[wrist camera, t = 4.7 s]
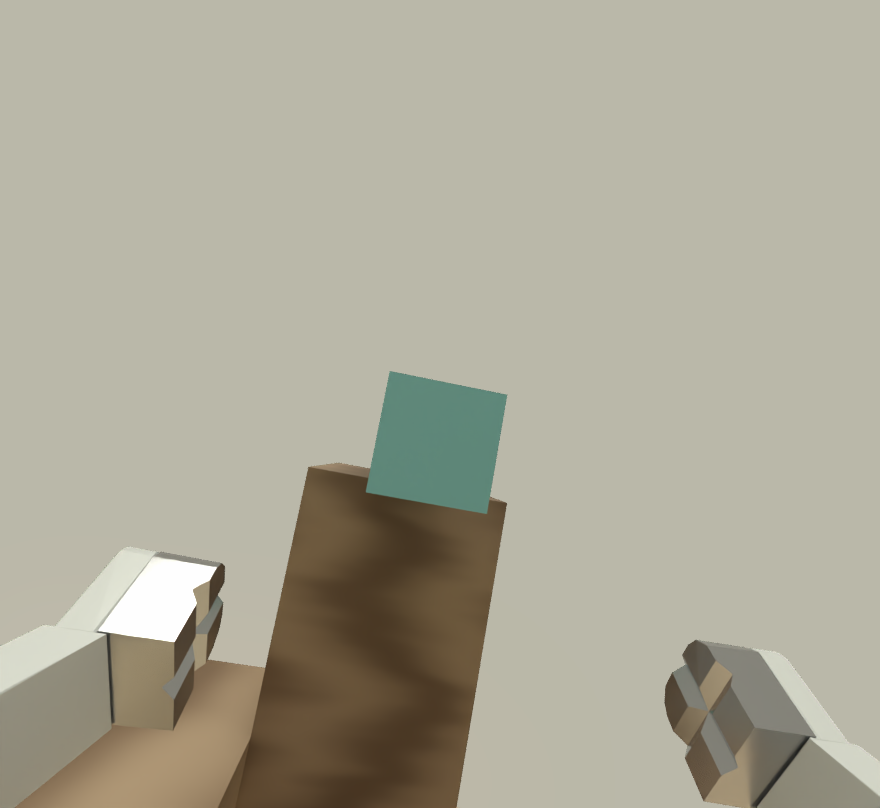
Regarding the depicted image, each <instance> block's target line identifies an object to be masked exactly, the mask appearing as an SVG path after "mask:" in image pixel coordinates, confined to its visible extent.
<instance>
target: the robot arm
mask: <svg viewBox="0 0 880 808" xmlns="http://www.w3.org/2000/svg"><path fill="white" fill-rule="evenodd" d="M224 578H225V566H224V565H223V564H222V563H217V562H212V561H207V560H201V559H196V558H191V557H186V556H180V555H175V554H170V553H164V552H154V551H149V550H144V549H139V548H134V547H126V548H125V549H123V550H121V551H119V552H118V553H117V554H116V555H115V557H114V558H113V559H112V560H111V561H110V562H109V564H108V565H107V566H106V567H105V568H104V569H103V571H102V572H101V573H100V574H99V575H98V576H97V577H96V579H95V580H94V581H93V582H92V584H91V585H90V586H89V587H88V588H87V589H86V590H85V592H84V593H83V594H82V595H81V596H80V597H79V598H78V600H77V601H76V602H75V603H74V604H73V605H72V607H71V608H70V609H69V610H68V611H67V612H66V614H65V615H64V616H63V617H62V618H61V619H60V620H59V622H58V623H57V624H56V625H55V626H50V625H43V626H40V627H38V628H36V629H34V630H32V631H30V632H28V633H26V634H24V635H22V636H20V637H18V638H16V639H14V640H11V641H9V642H8V643H5V644H3V645H1V646H0V808H14V807H16V806H17V805H18V804H19V803H21V802H22V801H23V800H24V799H26V798H27V797H28V796H29V795H31V794H32V793H33V792H34V791H35V790H37V789H38V788H39V787H40V786H42V785H43V784H44V783H45V782H47V781H48V780H49V779H50V778H51V777H53V776H54V775H55V774H56V773H58V772H59V771H60V770H61V769H63V768H64V767H65V766H66V765H67V764H69V763H70V762H71V761H72V760H74V759H75V758H76V757H77V756H79V755H80V754H81V753H82V752H83V751H85V750H86V749H87V748H88V747H90V746H91V745H92V744H93V743H95V742H96V741H97V740H98V739H100V738H101V737H102V736H103V735H104V734H106V733H107V732H108V731H109V730H111V728H112V725H120V726H130V727H139V728H149V729H159V730H169V731H173V730H174V728H175V726H176V724H177V722H178V720H179V718H180V716H181V714H182V712H183V709H184V707H185V705H186V703H187V701H188V699H189V697H190V695H191V693H192V691H193V687H194V671H195V670H197V669H198V668H200V667H201V666H203V665H204V664H205V663H206V662H207V659H208V657H209V655H210V653H211V651H212V648H213V646H214V643H215V640H216V637H217V634H218V631H219V628H220V623H221V618H222V610H223V602H222V600H221V599H220V598H219V597H218V593H219V591H220V589H221V588H222V586H223V584H224ZM683 659H684V662H685V665H684V666H683V667H681V668H679V669H677V670H676V671H674V672H672V674H671V676H670V678H669V680H668V682H667V684H666V688H665V707H666V712H667V716H668V719H669V721H670V724H671V726H672V729H673V731H674V732H675V733H676V734H677V735H678V736H679V737H680V738H681V739H682V740H683V741H684V742H685V743H686V744H687V745H688V746H687V751H686V756H685V759H686V762H687V764H688V766H689V768H690V771H691V773H692V776H693V778H694V780H695V782H696V785H697V787H698V789H699V791H700V794H701V796H702V798H703V801H705V802H711V803H717V804H723V805H729V806H735V807H741V808H880V762H879V761H878V760H877V759H875V758H874V757H873V756H872V755H870V754H869V753H868V752H867V751H865V750H864V749H863V748H861V747H860V746H859V745H856V744H850V743H849V742H848V741H847V740H846V738H845V737H844V736H843V734H842V733H841V731H840V730H839V729H838V727H837V726H836V725H835V723H834V722H833V721H832V719H831V718H830V717H829V715H828V714H827V712H826V711H825V710H824V709H823V707H822V706H821V704H820V703H819V702H818V700H817V699H816V697H815V696H814V695H813V693H812V692H811V691H810V689H809V688H808V687H807V685H806V684H805V682H804V681H803V680H802V678H801V677H800V676H799V674H798V673H797V672H796V670H795V669H794V667H793V666H792V665H791V663H790V662H789V661H788V660H787V659H786V658H785V657H784V656H782V655H781V654H780V653H778V652H773V651H766V650H760V649H753V648H745V647H738V646H732V645H725V644H719V643H712V642H705V641H699V640H695V641H694V642H692V643H690V644H689V645H688V646H687V648H686V650H685V651H684V653H683Z"/></svg>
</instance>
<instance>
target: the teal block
mask: <svg viewBox="0 0 880 808" xmlns="http://www.w3.org/2000/svg"><path fill="white" fill-rule="evenodd" d="M506 399H507V395H506V394H500V393H496V392H491V391H486V390H481V389H476V388H471V387H466V386H461V385H456V384H451V383H446V382H441V381H436V380H431V379H426V378H421V377H416V376H411V375H406V374H402V373H397V372H391V371H390V373H389V378H388V383H387V388H386V393H385V398H384V403H383V408H382V413H381V418H380V423H379V428H378V433H377V438H376V443H375V448H374V453H373V458H372V463H371V468H370V473H369V478H368V483H367V488H366V492H367V493H373V494H378V495H384V496H389V497H395V498H400V499H406V500H412V501H417V502H423V503H428V504H434V505H439V506H445V507H451V508H456V509H462V510H467V511H473V512H478V513H484V514H487V510H488V504H489V498H490V492H491V486H492V481H493V475H494V469H495V463H496V457H497V451H498V445H499V440H500V434H501V428H502V422H503V416H504V410H505V405H506Z"/></svg>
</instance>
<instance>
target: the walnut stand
mask: <svg viewBox="0 0 880 808" xmlns="http://www.w3.org/2000/svg"><path fill="white" fill-rule="evenodd" d="M369 473H370V469H369V468H364V467H359V466H353V465H348V464H342V463H334V464H326V465H319V466H311V467H308V472H307V477H306V481H305V486H304V490H303V496H302V500H301V505H300V510H299V514H298V519H297V523H296V528H295V532H294V537H293V542H292V547H291V551H290V556H289V561H288V566H287V570H286V574H285V579H284V584H283V588H282V593H281V598H280V602H279V607H278V612H277V617H276V621H275V626H274V630H273V635H272V640H271V645H270V649H269V654H268V658H267V663H266V667H265V668H262V667H255V666H248V665H241V664H234V663H227V662H221V661H214V660H207V662H206V663H205V664H204V665H203V666H201V667H200V668H198V669H197V670H195V671H194V687H193V691H192V693H191V695H190V697H189V699H188V701H187V703H186V705H185V707H184V709H183V712H182V714H181V716H180V718H179V720H178V722H177V724H176V726H175V728H174V730H173V731H169V730H159V729H149V728H139V727H130V726H120V725H112V728H111V730H109V731H108V732H107V733H106V734H104V735H103V736H102V737H101V738H100V739H98V740H97V741H96V742H95V743H93V744H92V745H91V746H90V747H88V748H87V749H86V750H85V751H83V752H82V753H81V754H80V755H79V756H77V757H76V758H75V759H74V760H72V761H71V762H70V763H69V764H67V765H66V766H65V767H64V768H63V769H61V770H60V771H59V772H58V773H56V774H55V775H54V776H53V777H51V778H50V779H49V780H48V781H47V782H45V783H44V784H43V785H42V786H40V787H39V788H38V789H37V790H35V791H34V792H33V793H32V794H31V795H29V796H28V797H27V798H26V799H24V800H23V801H22V802H21V803H19V804H18V805H17V806H16V807H14V808H456V807H457V800H458V794H459V789H460V783H461V777H462V771H463V765H464V758H465V752H466V746H467V740H468V734H469V728H470V722H471V716H472V710H473V704H474V698H475V692H476V686H477V680H478V674H479V668H480V661H481V656H482V650H483V644H484V637H485V632H486V626H487V619H488V614H489V607H490V602H491V596H492V589H493V584H494V578H495V572H496V566H497V560H498V554H499V547H500V542H501V536H502V530H503V524H504V518H505V512H506V506H507V503H505V502H503V501H500V500H497V499H494V498H492V497H490V498H489V504H488V510H487V514H484V513H478V512H473V511H467V510H462V509H456V508H451V507H445V506H439V505H434V504H428V503H423V502H417V501H412V500H406V499H400V498H395V497H389V496H384V495H378V494H373V493H367V492H366V488H367V483H368V478H369Z"/></svg>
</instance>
